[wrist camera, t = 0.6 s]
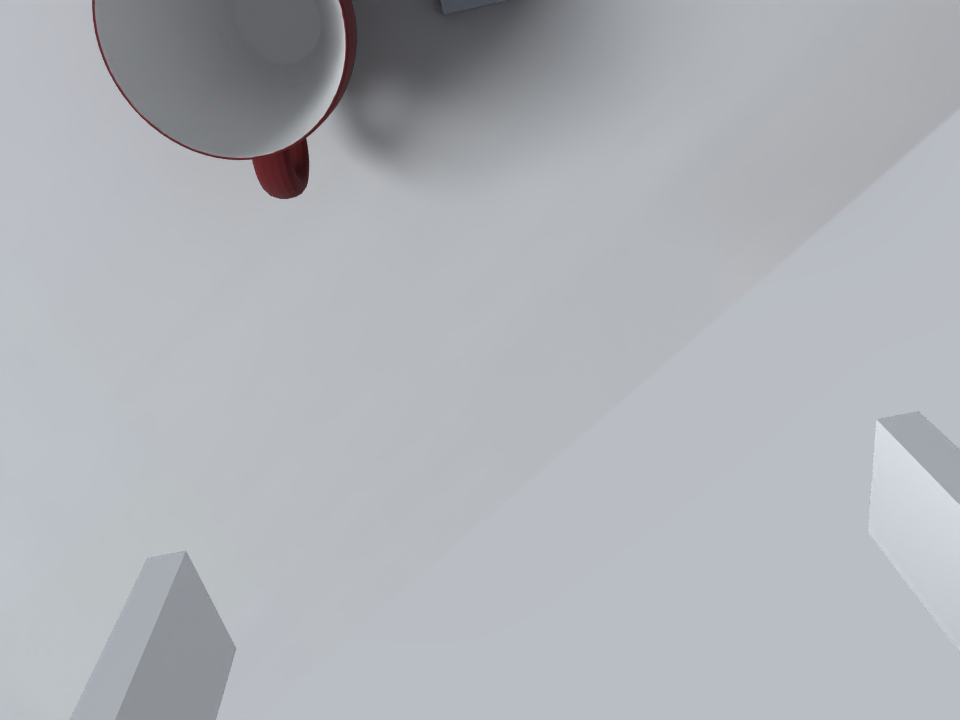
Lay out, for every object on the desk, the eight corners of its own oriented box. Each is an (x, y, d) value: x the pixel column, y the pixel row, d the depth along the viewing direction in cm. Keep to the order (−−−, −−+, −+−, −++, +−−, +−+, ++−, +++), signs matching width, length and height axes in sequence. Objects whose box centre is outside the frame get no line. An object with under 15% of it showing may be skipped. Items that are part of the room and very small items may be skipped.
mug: (408, 145, 35) (398, 201, 26) (245, 183, 36) (182, 251, 27) (342, -110, 31) (303, -146, 22) (155, -62, 31) (42, -79, 22)
